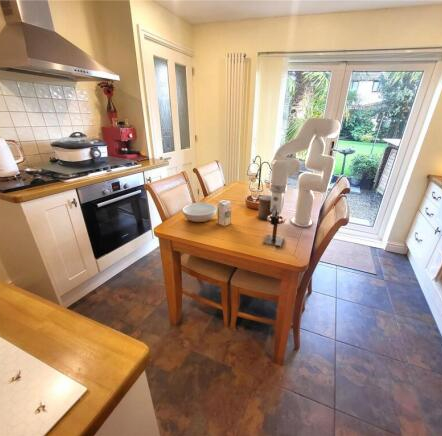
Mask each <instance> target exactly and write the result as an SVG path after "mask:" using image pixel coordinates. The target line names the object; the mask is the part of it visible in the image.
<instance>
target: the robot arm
mask: <svg viewBox="0 0 442 436" xmlns="http://www.w3.org/2000/svg"><path fill="white" fill-rule="evenodd" d="M340 130H341V123H340V121H339V120H337V119H333V118H327V117H326V118H325V117H308V118H305V120H304V121H303V123H302V124H301V126H300V128H299V129H298V131H297V132H296V134H295V136H294V138H292V139H290V140H288V141H287V142H285V143H283V144H282V145H280V146H279V147H278V148H277V150H276V151H275V153H274V154H273V156H272V157H271V160H270V168H271V174H270V183H269V185H270V186H269V191H270V192H271V195H270V196H271V206H270V212H272V217H271V223H270V225H272V226H273V225H277V226H278V225H279V224H278V221H280V218H279V215H280V214H281V213H282V211H283V209H284V201H285V193H286V192H287V190H288V189H287V188H288V180H289V176H296V175H298V174H299V173H300V172H301V169H302V162H301V160H299V159H298V158H294V157H289V156H290V155H292V154H298V153H301V152H305V151H307V154H306V157H305V162H304V163H305V164H304V167H305V169H306V170H308V171H312V172H308V171H307V172H306V171H305V172H302V173H300V174H299V175H298V179H297V195H296V196H297V197H296V203H295V211H294V217H292V218H291V221H290V222H291V223H292V225H294V226H297V227H301V228H309V227H310V226H312V225H313V221H312V220H311V216H312V210H313V205H314V199H315V196H314V192H317V193H322V194H323V193H326V192H327V191H328V189H329V187H330V184H331V180H332V177H333V173H334V169H335V165H336V160H335V157H334V156H333V155H332V156H331V155H327V154H324V153H325V149H326V143H325V140H324V139H323V138H329V139H330V138H331V139H332V138H336V137H337V136H338V134H339V133H340ZM314 172H317V173H314ZM319 173H322V174H319Z"/></svg>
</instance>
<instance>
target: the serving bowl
mask: <svg viewBox="0 0 442 436" xmlns="http://www.w3.org/2000/svg"><path fill="white" fill-rule="evenodd" d="M217 213H218V206H216V204H213V203H211V202H201V201H200V202H192V203H189V204H186V205H185V206H184V207H182V214H183V216H184V217H185V219H187V220H189V221H191V222H196V223H201V222H207V221H210V220H212V219H213V218H214V217H216V214H217Z"/></svg>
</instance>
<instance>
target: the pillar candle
mask: <svg viewBox="0 0 442 436" xmlns="http://www.w3.org/2000/svg"><path fill="white" fill-rule="evenodd" d="M271 196H272V195H268V194H263V195H260V196H259V199H258V209H257V210H258V212H257V218H258V219H260V220H262V221H265V222H266V221H267V222H268V220H267V217H268V216H269V215H272V212H270V206H271ZM270 219H271V218H270Z"/></svg>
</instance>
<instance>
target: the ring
mask: <svg viewBox="0 0 442 436" xmlns="http://www.w3.org/2000/svg"><path fill="white" fill-rule="evenodd" d="M271 217H272V215H269V216H268V217H267V220H268V221H267V222H268V223H270V224H271V219H270V218H271ZM285 222H286V218H285V217H284V216H283V215H280V214H279V221H278V225H282V224H284V223H285Z"/></svg>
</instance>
